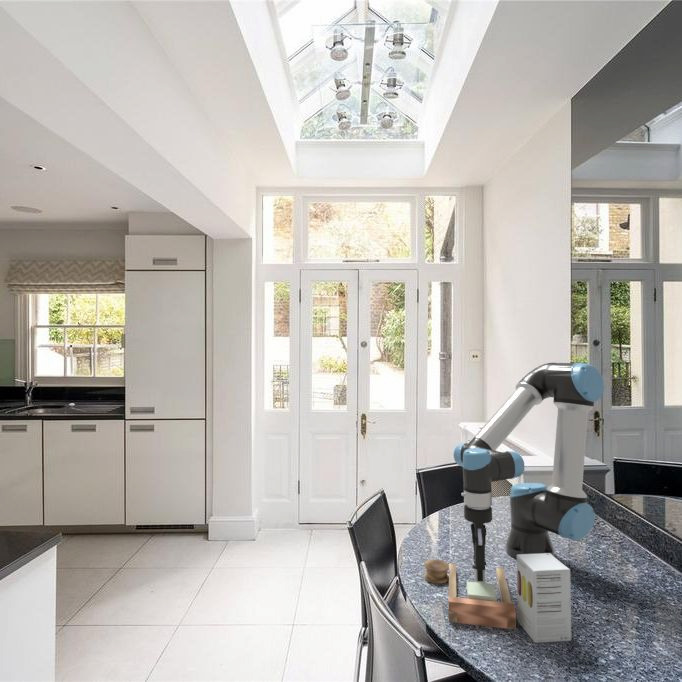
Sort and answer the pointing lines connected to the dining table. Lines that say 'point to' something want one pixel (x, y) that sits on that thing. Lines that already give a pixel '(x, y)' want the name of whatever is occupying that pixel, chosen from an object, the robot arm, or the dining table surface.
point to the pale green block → (481, 591)
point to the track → (482, 605)
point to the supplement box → (543, 597)
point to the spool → (436, 571)
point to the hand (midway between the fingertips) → (480, 590)
